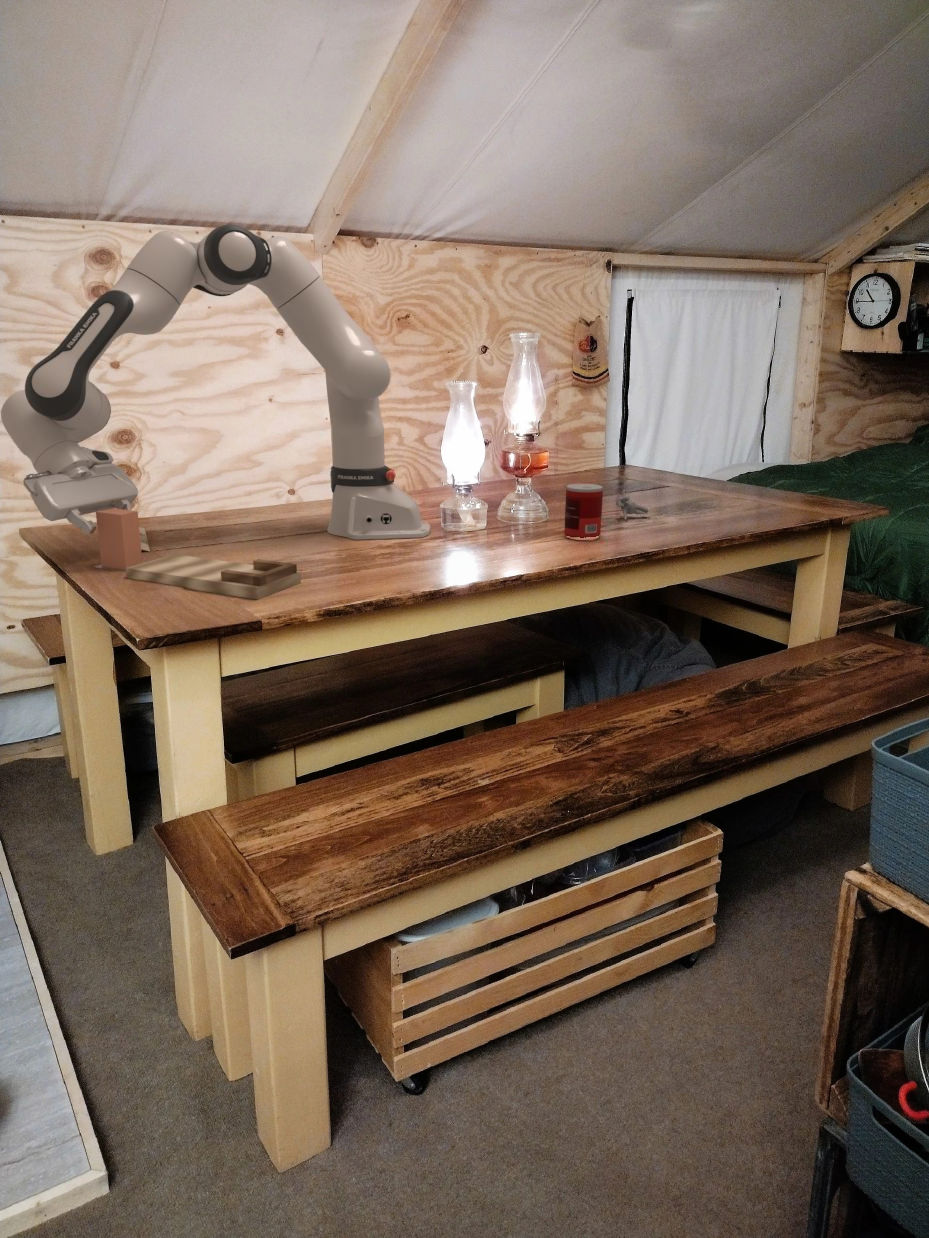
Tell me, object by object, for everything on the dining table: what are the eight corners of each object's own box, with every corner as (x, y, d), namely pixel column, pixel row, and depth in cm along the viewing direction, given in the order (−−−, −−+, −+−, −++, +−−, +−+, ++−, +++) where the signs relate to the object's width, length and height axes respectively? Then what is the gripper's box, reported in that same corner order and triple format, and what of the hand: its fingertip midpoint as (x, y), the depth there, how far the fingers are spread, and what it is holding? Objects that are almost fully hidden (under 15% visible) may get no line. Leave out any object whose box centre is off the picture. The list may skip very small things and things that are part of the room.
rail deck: (126, 579, 161) (124, 559, 160) (175, 564, 171) (173, 546, 170) (257, 599, 149) (256, 578, 148) (300, 582, 160) (299, 563, 159)
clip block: (101, 566, 168) (95, 511, 165) (118, 561, 171) (112, 508, 168) (126, 570, 165) (120, 514, 163) (142, 565, 169) (137, 511, 166)
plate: (93, 568, 168) (93, 566, 167) (118, 561, 173) (118, 560, 173) (126, 573, 164) (126, 571, 164) (150, 566, 170) (150, 564, 169)
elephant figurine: (656, 523, 216) (623, 510, 213) (641, 537, 220) (609, 525, 217) (653, 491, 221) (621, 478, 218) (639, 505, 226) (608, 493, 223)
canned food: (604, 535, 200) (607, 485, 197) (593, 542, 194) (596, 490, 190) (571, 532, 204) (573, 482, 200) (559, 539, 197) (561, 487, 193)
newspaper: (115, 535, 199) (115, 527, 198) (150, 533, 201) (149, 525, 201) (117, 559, 178) (116, 550, 177) (156, 556, 180) (155, 547, 180)
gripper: (25, 464, 158) (74, 526, 157) (116, 451, 175) (160, 507, 174) (10, 488, 161) (58, 549, 160) (101, 473, 178) (144, 528, 177)
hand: (112, 527), depth 167 cm, fingers open, 8 cm apart
